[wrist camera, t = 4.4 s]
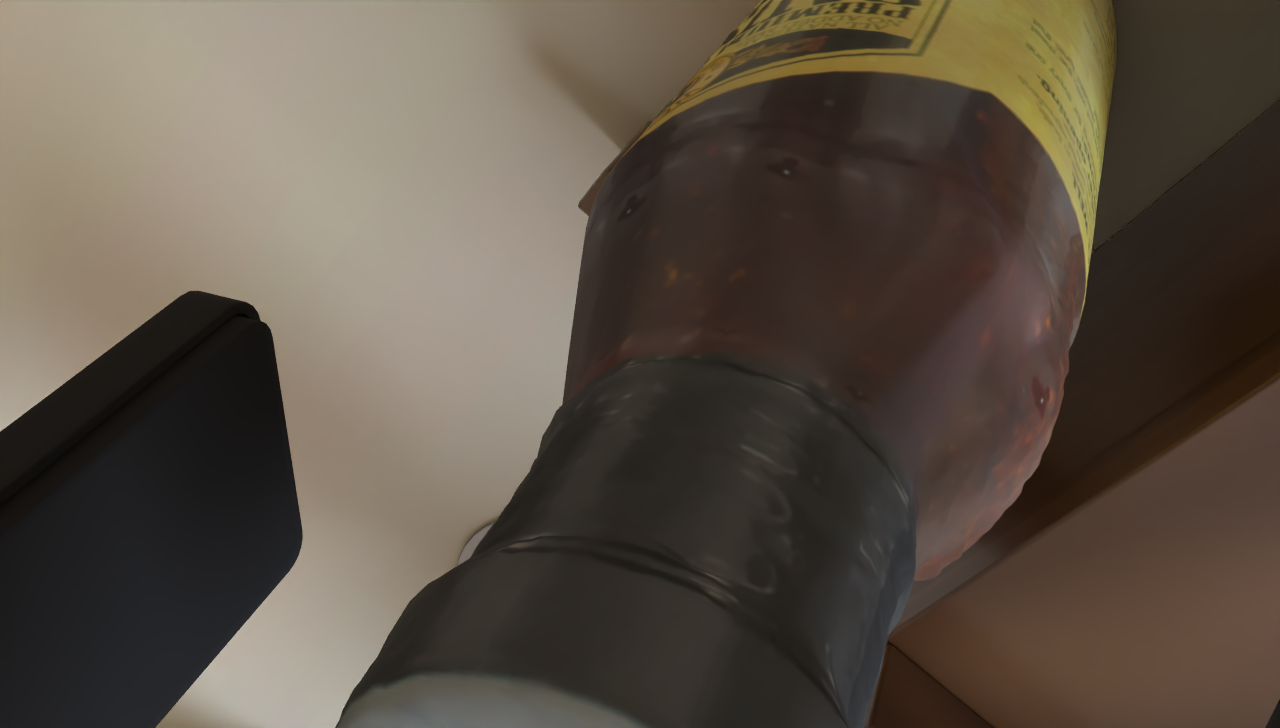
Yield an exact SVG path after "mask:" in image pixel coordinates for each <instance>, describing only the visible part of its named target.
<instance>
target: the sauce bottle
mask: <svg viewBox="0 0 1280 728" xmlns="http://www.w3.org/2000/svg"><path fill="white" fill-rule="evenodd" d="M1116 62H1117V41H1116V23H1115V14H1114V9H1113V1H1112V0H761V1H760V2H759V3H758V4H757V6H756V7H755V8H754V10H753V11H752V12H751V13H750V14H749V15H748V16H747V17H746V19H745V20H744V21H743V22H742V23H741V24H740V25H739V26H738V27H737V28H736V29H735V30H734V31H733V32H731V33H730V35H729V36H728V37H727V39H726V40H725V41H724V42H723V44H722V45H721V46H720V48H719V49H718V50H717V51H716V52H715V53H714V54H712V55H711V56H710V57H709V59H708V60H707V61H706V63H705V64H704V65H703V66H702V68H701V69H700V70H699V71H698V72H697V73H696V74H695V75H694V77H693V78H692V79H691V80H690V81H689V82H688V83H687V85H686V86H685V87H684V88H683V89H682V90H681V91H680V93H679V94H678V95H677V96H676V97H675V98H674V99H673V100H672V101H671V102H670V103H669V104H668V105H667V106H666V107H665V108H664V109H663V111H662V112H661V113H660V114H659V115H658V116H657V117H656V118H655V120H654V121H653V122H652V123H651V124H650V126H649V127H648V128H647V129H646V130H645V131H644V133H643V134H642V135H641V136H640V137H639V139H638V140H637V141H636V142H635V143H634V144H633V145H632V146H631V147H630V149H629V150H628V151H627V152H626V153H625V154H624V155H623V156H622V157H621V159H620V160H619V161H618V162H617V164H616V165H615V166H614V168H613V169H612V170H611V172H610V173H609V174H608V176H607V177H606V178H605V180H604V182H603V184H602V186H601V188H600V190H599V192H598V193H597V195H596V198H595V200H594V203H593V205H592V208H591V211H590V214H589V219H588V223H587V227H586V232H585V239H584V247H583V254H582V261H581V268H580V275H579V282H578V290H577V297H576V304H575V312H574V319H573V327H572V334H571V341H570V349H569V356H568V364H567V372H566V381H565V389H564V397H563V405H562V406H561V407H560V408H559V409H558V410H557V411H556V413H555V415H554V417H553V419H552V421H551V423H550V425H549V427H548V428H547V430H546V432H545V433H544V435H543V437H542V441H541V444H540V448H539V452H538V456H537V458H536V459H535V460H534V463H533V465H532V467H531V470H530V472H529V473H528V475H527V476H526V477H525V479H524V480H523V481H522V483H521V484H520V485H519V487H518V488H517V490H516V492H515V493H514V495H513V497H512V499H511V501H510V502H509V504H508V505H507V506H506V507H505V509H504V510H503V512H502V513H501V515H500V516H499V518H498V519H497V520H496V522H495V523H494V524H493V525H492V526H491V528H490V529H489V530H488V531H487V533H486V535H485V536H484V537H483V539H482V540H481V541H480V543H479V544H478V545H477V547H476V548H475V550H474V552H473V554H472V556H471V557H470V558H469V559H468V560H466V561H465V562H463V563H461V564H460V565H458V566H457V567H455V568H454V569H452V570H450V571H449V572H447V573H446V574H444V575H443V576H441V577H439V578H438V579H436V580H434V581H432V582H431V583H429V584H428V585H426V586H425V587H424V588H423V589H422V590H421V591H420V592H419V593H418V594H417V595H416V596H415V597H414V598H413V599H412V600H411V601H410V602H409V604H408V605H407V607H406V608H405V610H404V612H403V613H402V615H401V616H400V618H399V619H398V621H397V623H396V624H395V626H394V627H393V629H392V630H391V632H390V634H389V635H388V637H387V639H386V641H385V643H384V645H383V647H382V649H381V651H380V653H379V655H378V657H377V658H376V660H375V661H374V662H373V663H372V665H371V666H370V668H369V669H368V671H367V672H366V674H365V675H364V677H363V678H362V680H361V681H360V682H359V683H358V685H357V686H356V687H355V688H354V690H353V692H352V694H351V695H350V697H349V699H348V701H347V703H346V705H345V707H344V709H343V711H342V714H341V717H340V720H339V722H338V724H337V725H336V727H335V728H864V726H865V719H866V713H867V708H868V705H869V703H870V700H871V698H872V695H873V692H874V689H875V686H876V684H877V681H878V678H879V675H880V672H881V666H882V658H883V655H884V652H885V647H886V644H887V640H888V636H889V634H890V633H891V631H892V630H893V629H894V627H895V626H896V624H897V623H898V621H899V620H900V618H901V617H902V615H903V612H904V609H905V606H906V604H907V601H908V598H909V595H910V592H911V588H912V584H913V580H916V581H924V580H927V579H931V578H934V577H936V576H938V575H939V574H940V572H941V571H942V569H943V568H944V567H946V566H947V565H949V564H950V563H951V562H953V561H956V560H957V559H959V558H960V557H962V554H963V552H965V551H966V550H968V549H969V548H970V547H971V546H972V545H974V544H975V543H976V542H977V541H978V540H979V539H980V538H981V536H982V535H984V534H985V533H986V532H988V531H989V530H990V529H991V528H992V526H993V525H994V524H995V522H996V521H997V520H998V519H999V518H1000V517H1001V516H1002V514H1003V513H1004V511H1005V510H1006V509H1007V508H1008V507H1010V506H1011V505H1012V504H1013V503H1014V502H1015V500H1016V499H1017V498H1018V496H1019V495H1020V494H1021V492H1022V488H1023V485H1024V483H1025V482H1026V481H1027V480H1028V479H1029V478H1030V477H1031V476H1032V474H1033V473H1034V471H1035V470H1036V469H1037V467H1038V466H1039V463H1040V460H1041V456H1042V454H1043V452H1044V450H1045V448H1046V447H1047V445H1048V443H1049V441H1050V438H1051V435H1052V430H1053V427H1054V425H1055V422H1056V419H1057V417H1058V414H1059V412H1060V406H1061V403H1062V399H1063V395H1064V389H1063V386H1064V381H1065V378H1066V376H1067V374H1068V372H1069V357H1068V352H1069V349H1070V347H1071V345H1072V343H1073V340H1074V338H1075V335H1076V333H1077V330H1078V327H1079V323H1080V319H1081V315H1082V311H1083V307H1084V303H1085V295H1086V286H1087V278H1088V271H1089V265H1090V258H1091V251H1092V244H1093V236H1094V227H1095V218H1096V209H1097V200H1098V193H1099V186H1100V179H1101V172H1102V165H1103V157H1104V149H1105V141H1106V133H1107V126H1108V119H1109V113H1110V106H1111V98H1112V89H1113V82H1114V77H1115V72H1116Z"/></svg>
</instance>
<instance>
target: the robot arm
mask: <svg viewBox="0 0 1280 728" xmlns="http://www.w3.org/2000/svg"><path fill="white" fill-rule="evenodd" d="M302 538H303V536H302V525H301V518H300V512H299V505H298V499H297V492H296V486H295V479H294V473H293V467H292V460H291V454H290V447H289V441H288V434H287V428H286V421H285V415H284V408H283V402H282V395H281V389H280V382H279V376H278V369H277V363H276V356H275V350H274V343H273V337H272V333H271V330H270V328H269V327H268V325H267V324H266V323H264V322H262V321H260V318H259V314H258V312H257V311H256V309H255V308H254V307H253V306H252V305H250V304H248V303H247V302H243V301H239V300H235V299H231V298H226V297H222V296H218V295H214V294H210V293H206V292H201V291H189V292H187V293H185V294H183V295H181V296H180V297H179V298H177V299H176V300H175V301H173V302H172V303H171V304H169V305H168V306H167V307H165V308H164V309H163V310H161V311H160V312H159V313H157V314H156V315H155V316H153V317H152V318H151V319H149V320H148V321H147V322H145V323H144V324H143V325H141V326H140V327H139V328H137V329H136V330H135V331H133V332H132V333H131V334H129V335H128V336H127V337H125V338H124V339H123V340H121V341H120V342H119V343H118V344H116V345H115V346H114V347H112V348H111V349H110V350H108V351H107V352H106V353H104V354H103V355H102V356H100V357H99V358H98V359H96V360H95V361H94V362H92V363H91V364H90V365H88V366H87V367H86V368H84V369H83V370H82V371H80V372H79V373H78V374H76V375H75V376H74V377H72V378H71V379H70V380H68V381H67V382H66V383H64V384H63V385H62V386H60V387H59V388H58V389H57V390H55V391H54V392H53V393H51V394H50V395H49V396H47V397H46V398H45V399H43V400H42V401H41V402H39V403H38V404H37V405H35V406H34V407H33V408H31V409H30V410H29V411H27V412H26V413H25V414H23V415H22V416H21V417H19V418H18V419H17V420H15V421H14V422H13V423H11V424H10V425H9V426H7V427H6V428H5V429H3V430H2V431H1V432H0V728H155V727H156V726H157V725H158V724H159V723H160V721H161V720H162V719H163V718H164V717H165V716H166V714H167V713H168V712H169V711H170V710H171V709H172V707H173V706H174V705H175V704H176V703H177V702H178V700H179V699H180V698H181V697H182V696H183V695H184V693H185V692H186V691H187V690H188V689H189V688H190V686H191V685H192V684H193V683H194V682H195V681H196V679H197V678H198V677H199V676H200V675H201V674H202V672H203V671H204V670H205V669H206V668H207V667H208V665H209V664H210V663H211V662H212V661H213V660H214V658H215V657H216V656H217V655H218V654H219V653H220V651H221V650H222V649H223V648H224V647H225V646H226V644H227V643H228V642H229V641H230V640H231V639H232V637H233V636H234V635H235V634H236V633H237V631H238V630H239V629H240V628H241V627H242V626H243V624H244V623H245V622H246V621H247V620H248V619H249V617H250V616H251V615H252V614H253V613H254V612H255V610H256V609H257V608H258V607H259V606H260V605H261V603H262V602H263V601H264V600H265V599H266V598H267V596H268V595H269V594H270V593H271V592H272V591H273V589H274V588H275V587H276V586H277V585H278V584H279V582H280V581H281V580H282V579H283V578H284V577H285V575H286V574H287V573H288V572H289V571H290V569H291V568H292V566H293V565H294V563H295V561H296V559H297V557H298V555H299V552H300V549H301V545H302ZM1265 728H1280V699H1279V701H1278V703H1277V705H1276V707H1275V709H1274V711H1273V713H1272V715H1271V717H1270V719H1269V721H1268V723H1267V725H1266V727H1265Z"/></svg>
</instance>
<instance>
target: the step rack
mask: <svg viewBox="0 0 1280 728" xmlns="http://www.w3.org/2000/svg"><path fill="white" fill-rule="evenodd" d="M652 122H653V121H650V122H648V123H647V124H646V125H645V126H644V127H643V128H642V129H641V131H640V132H639V133H638V134H637V135H636V136H635V137H634V138H633V139H632V140H631V142H630V143H629V144H628V145H627V146H626V147H625V148H624V149H623V150H622V151H621V153H620V154H619V155H618V156H617V157H616V158H615V159H614V160H613V161H612V162H611V163H610V165H609V166H608V167H607V168H606V169H605V170H604V171H603V173H602V174H601V175H600V176H599V178H598V179H597V180H596V182H595V183H594V184H593V185H592V187H591V188H590V189H589V190H588V192H587V193H586V194H585V195H584V197H583V198H582V199H581V200H580V202H579V205H578V207H579V208H580V209H581V210H582V211H583V212H584V213H586V214H587V215H588V216H589V214H590V211H591V208H592V205H593V203H594V200H595V198H596V195H597V193H598V192H599V190H600V188H601V186H602V184H603V182H604V180H605V178H606V177H607V176H608V174H609V173H610V172H611V170H612V169H613V168H614V166H615V165H616V164H617V162H618V161H619V160H620V159H621V157H622V156H623V155H624V154H625V153H626V152H627V151H628V150H629V149H630V147H631V146H632V145H633V144H634V143H635V142H636V141H637V140H638V139H639V137H640V136H641V135H642V134H643V133H644V131H645V130H646V129H647V128H648V127H649V126H650V124H651V123H652ZM1068 357H1069V372H1068V374H1067V376H1066V378H1065V381H1064V386H1063V389H1064V395H1063V399H1062V403H1061V406H1060V412H1059V414H1058V417H1057V419H1056V422H1055V425H1054V427H1053V430H1052V435H1051V438H1050V441H1049V443H1048V445H1047V447H1046V448H1045V450H1044V452H1043V454H1042V456H1041V460H1040V463H1039V466H1038V467H1037V469H1036V470H1035V471H1034V473H1033V474H1032V476H1031V477H1030V478H1029V479H1028V480H1027V481H1026V482H1025V483H1024V485H1023V488H1022V492H1021V494H1020V495H1019V496H1018V498H1017V499H1016V500H1015V502H1014V503H1013V504H1012V505H1011V506H1010V507H1008V508H1007V509H1006V510H1005V511H1004V513H1003V514H1002V516H1001V517H1000V518H999V519H998V520H997V521H996V522H995V524H994V525H993V526H992V528H991V529H990V530H989V531H988V532H986V533H985V534H984V535H982V536H981V538H980V539H979V540H978V541H977V542H976V543H975V544H974V545H972V546H971V547H970V548H969V549H968V550H966V551H965V552H963V554H962V557H960V558H959V559H957V560H956V561H953V562H951V563H950V564H949V565H947V566H946V567H944V568H943V569H942V571H941V572H940V574H939V575H938V576H936V577H934V578H931V579H927V580H924V581H916V580H913V584H912V588H911V592H910V595H909V598H908V601H907V604H906V606H905V609H904V612H903V615H902V617H901V618H900V620H899V621H898V623H897V624H896V626H895V627H894V629H893V630H892V631H891V633H890V634H889V636H888V640H887V644H886V647H885V652H884V655H883V658H882V666H881V672H880V675H879V678H878V681H877V684H876V686H875V689H874V692H873V695H872V698H871V700H870V703H869V705H868V708H867V713H866V719H865V726H864V728H1265V727H1266V725H1267V723H1268V721H1269V719H1270V717H1271V715H1272V713H1273V711H1274V709H1275V707H1276V705H1277V703H1278V701H1279V699H1280V100H1279V101H1277V102H1276V103H1275V104H1274V105H1273V106H1271V107H1270V108H1269V109H1268V110H1267V111H1265V112H1264V113H1263V114H1262V115H1260V116H1259V117H1258V118H1257V119H1256V120H1254V121H1253V122H1252V123H1251V124H1249V125H1248V126H1247V127H1246V128H1245V129H1243V130H1242V131H1241V132H1240V133H1239V134H1237V135H1236V136H1235V137H1234V138H1232V139H1231V140H1230V141H1229V142H1228V143H1226V144H1225V145H1224V146H1223V147H1221V148H1220V149H1219V150H1218V151H1217V152H1215V153H1214V154H1213V155H1212V156H1211V157H1209V158H1208V159H1207V160H1206V161H1204V162H1203V163H1202V164H1201V165H1200V166H1198V167H1197V168H1196V169H1195V170H1193V171H1192V172H1191V173H1190V174H1189V175H1187V176H1186V177H1185V178H1184V179H1183V180H1181V181H1180V182H1179V183H1178V184H1176V185H1175V186H1174V187H1173V188H1172V189H1170V190H1169V191H1168V192H1167V193H1165V194H1164V195H1163V196H1162V197H1161V198H1159V199H1158V200H1157V201H1156V202H1155V203H1153V204H1152V205H1151V206H1150V207H1148V208H1147V209H1146V210H1145V211H1144V212H1142V213H1141V214H1140V215H1139V216H1137V217H1136V218H1135V219H1134V220H1133V221H1131V222H1130V223H1129V224H1128V225H1127V226H1125V227H1124V228H1123V229H1122V230H1120V231H1119V232H1118V233H1117V234H1116V235H1114V236H1113V237H1112V238H1111V239H1109V240H1108V241H1107V242H1106V243H1105V244H1103V245H1102V246H1101V247H1100V248H1099V249H1097V250H1096V251H1095V252H1094V253H1092V254H1091V258H1090V265H1089V271H1088V278H1087V286H1086V295H1085V303H1084V307H1083V311H1082V315H1081V319H1080V323H1079V327H1078V330H1077V333H1076V335H1075V338H1074V340H1073V343H1072V345H1071V347H1070V349H1069V352H1068Z"/></svg>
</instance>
